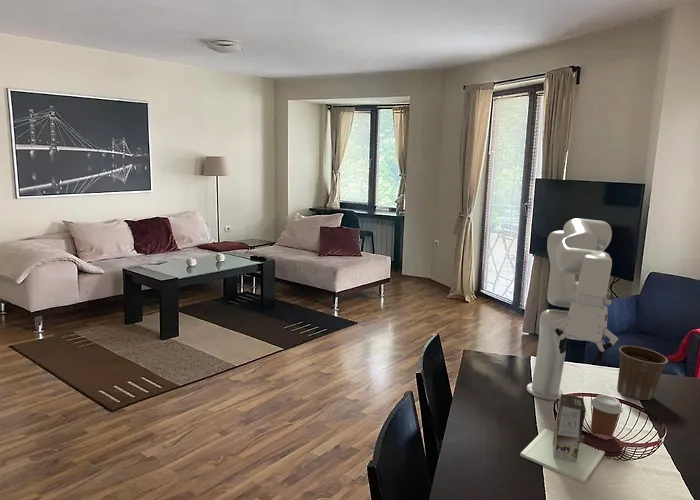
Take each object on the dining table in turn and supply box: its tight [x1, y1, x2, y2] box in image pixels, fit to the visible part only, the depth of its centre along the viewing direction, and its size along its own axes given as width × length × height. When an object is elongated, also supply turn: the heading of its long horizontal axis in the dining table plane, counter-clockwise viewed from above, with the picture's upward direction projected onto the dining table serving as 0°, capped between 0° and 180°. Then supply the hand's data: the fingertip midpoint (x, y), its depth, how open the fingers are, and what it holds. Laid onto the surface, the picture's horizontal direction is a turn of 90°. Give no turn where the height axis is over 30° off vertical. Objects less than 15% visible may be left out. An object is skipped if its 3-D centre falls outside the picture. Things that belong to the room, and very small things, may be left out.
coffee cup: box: [590, 394, 624, 436], centre depth 173 cm, size 9×9×12 cm
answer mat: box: [519, 427, 606, 484], centre depth 160 cm, size 20×18×1 cm
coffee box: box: [553, 393, 587, 462], centre depth 158 cm, size 9×6×16 cm
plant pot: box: [616, 345, 669, 401], centre depth 205 cm, size 16×16×16 cm
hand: (579, 357), depth 154 cm, fingers open, 9 cm apart
